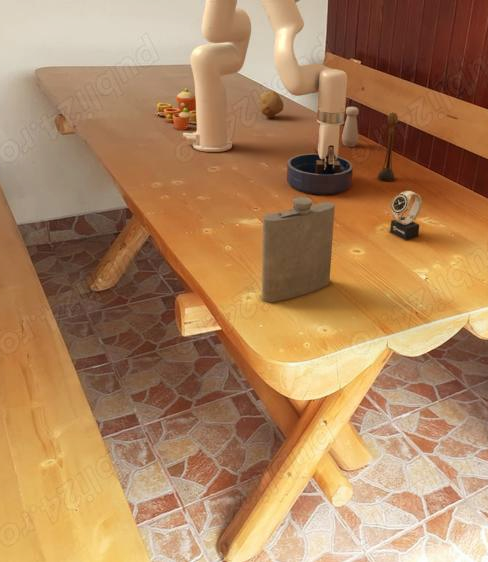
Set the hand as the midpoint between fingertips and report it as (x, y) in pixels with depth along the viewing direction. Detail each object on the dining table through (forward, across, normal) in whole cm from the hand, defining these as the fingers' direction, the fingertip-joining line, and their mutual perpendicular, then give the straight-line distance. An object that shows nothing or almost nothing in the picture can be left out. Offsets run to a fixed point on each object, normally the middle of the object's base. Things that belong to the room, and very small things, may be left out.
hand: (327, 179), depth 185 cm
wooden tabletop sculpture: (+2, -5, +19) cm, 19 cm away
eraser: (+1, 0, 0) cm, 1 cm away
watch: (+2, +34, +16) cm, 37 cm away
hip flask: (+2, +62, -12) cm, 63 cm away
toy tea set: (+2, -62, -46) cm, 77 cm away
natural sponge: (+2, -70, -14) cm, 71 cm away
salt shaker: (+2, -38, +12) cm, 40 cm away
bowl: (+1, 0, -2) cm, 3 cm away
